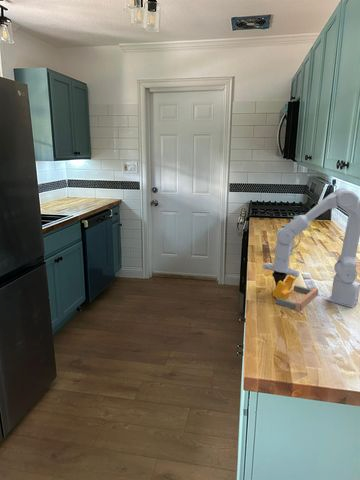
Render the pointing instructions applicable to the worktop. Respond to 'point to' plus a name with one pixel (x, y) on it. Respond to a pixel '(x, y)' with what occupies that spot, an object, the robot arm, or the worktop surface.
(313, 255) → the worktop surface
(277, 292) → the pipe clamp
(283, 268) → the robot arm
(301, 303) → the stop frame
